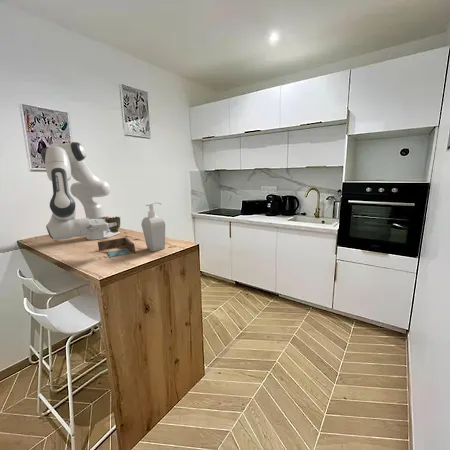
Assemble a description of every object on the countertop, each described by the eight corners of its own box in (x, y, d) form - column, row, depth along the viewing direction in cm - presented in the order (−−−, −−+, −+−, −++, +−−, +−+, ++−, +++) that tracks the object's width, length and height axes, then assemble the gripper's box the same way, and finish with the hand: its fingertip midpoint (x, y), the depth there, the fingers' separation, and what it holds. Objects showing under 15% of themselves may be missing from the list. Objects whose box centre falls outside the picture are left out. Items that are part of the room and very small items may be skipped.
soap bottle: (170, 248, 143) (165, 202, 138) (154, 252, 137) (148, 204, 131) (160, 244, 152) (155, 201, 147) (144, 248, 146) (138, 203, 141)
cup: (105, 232, 136) (102, 218, 135) (118, 230, 141) (116, 215, 140) (110, 234, 131) (108, 219, 130) (124, 231, 136) (122, 216, 135)
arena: (104, 259, 130) (102, 250, 129) (98, 250, 146) (97, 242, 145) (135, 252, 138) (134, 243, 137) (127, 245, 154) (126, 237, 153)
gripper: (86, 223, 119) (118, 219, 126) (83, 218, 136) (111, 214, 143) (89, 236, 121) (119, 231, 128) (85, 229, 138) (112, 225, 145)
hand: (115, 222), depth 136 cm, fingers closed on cup, 7 cm apart
